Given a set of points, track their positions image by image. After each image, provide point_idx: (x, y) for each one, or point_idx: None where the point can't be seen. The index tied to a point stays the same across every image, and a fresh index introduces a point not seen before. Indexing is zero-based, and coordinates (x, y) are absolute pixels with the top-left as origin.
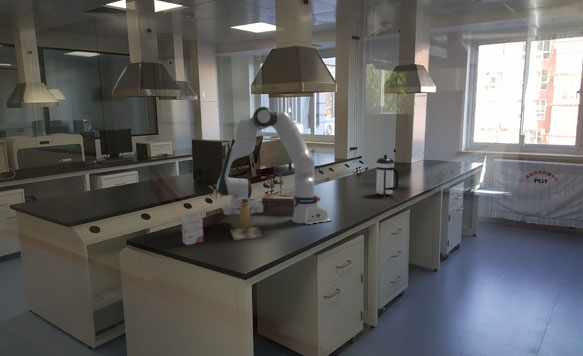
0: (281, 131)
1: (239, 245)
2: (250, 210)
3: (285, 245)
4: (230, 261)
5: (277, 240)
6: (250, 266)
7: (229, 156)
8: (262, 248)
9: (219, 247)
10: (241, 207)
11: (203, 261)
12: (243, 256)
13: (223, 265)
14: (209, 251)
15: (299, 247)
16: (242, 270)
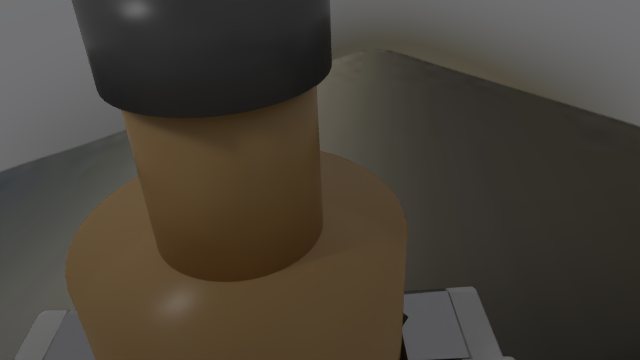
0: None
1: None
2: None
3: (62, 207)
4: (439, 99)
5: (39, 301)
6: (349, 69)
7: None
8: None
9: (565, 242)
10: (366, 179)
11: (582, 109)
12: (374, 126)
13: (466, 81)
14: (614, 194)
15: (9, 173)
16: (383, 56)
